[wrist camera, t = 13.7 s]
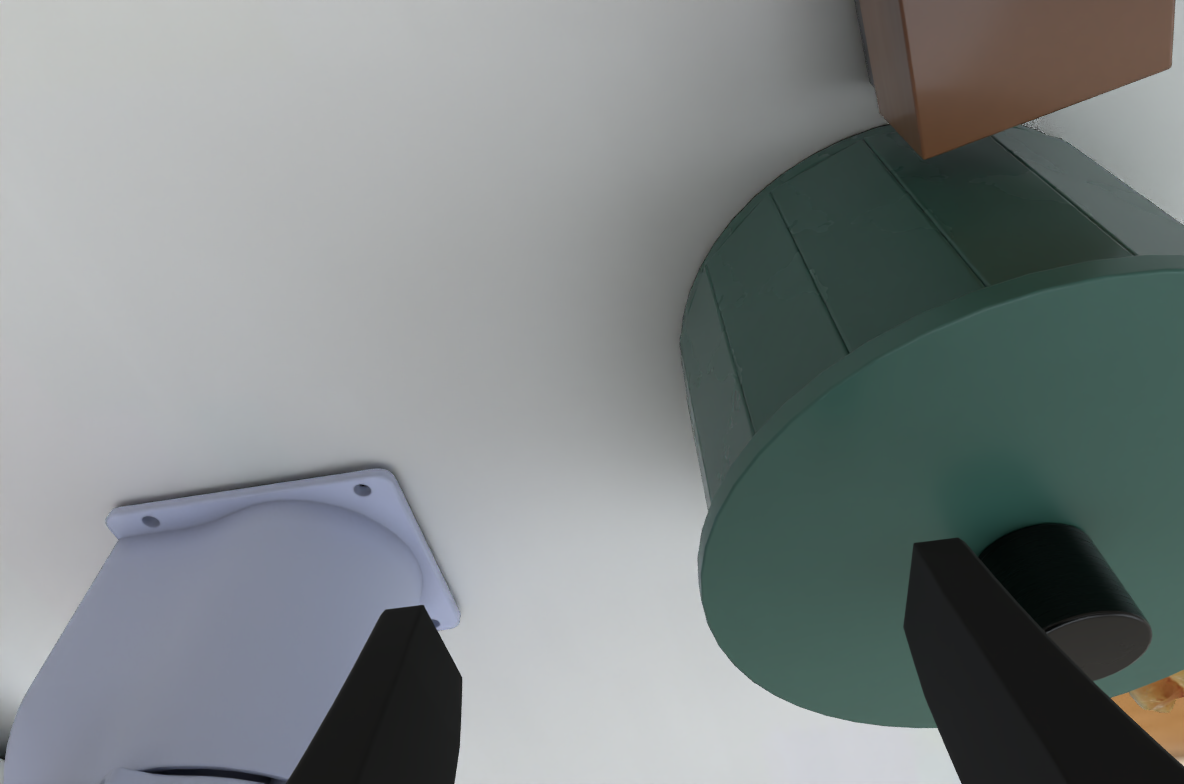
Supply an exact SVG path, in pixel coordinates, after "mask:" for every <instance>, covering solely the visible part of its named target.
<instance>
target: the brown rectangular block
mask: <svg viewBox="0 0 1184 784" xmlns="http://www.w3.org/2000/svg"><path fill="white" fill-rule="evenodd" d="M855 4H856V9H857V15H858V20H859V26H860V31H861V37H862V42H863V48H864V53H865V59H866V64H867V69H868V75H869V80H870V83H871V84H872V85H873V86H874V87H875V91H876V97H877V102H878V108H879V113H880V114H881V115H882V116H883V117H884V119H885V120H886V121H887V122H888V123H889V124H890V125H891V126H892V127H893V128H894V129H895V130H896V131H897V132H898V133H899V134H900V136H901V137H902V138H903V139H904V140H905V141H906V142H907V143H908V144H909V145H910V146H911V147H912V148H913V149H914V150H915V151H916V153H917V154H918V155H919V156H920V157H921V158H922V159H923V160H927V159H929V158H932V157H935V156H937V155H940V154H943V153H945V152H948V151H951V150H953V149H956V148H959V147H961V146H964V145H967V144H969V143H972V142H975V141H977V140H980V139H983V138H985V137H988V136H991V135H993V134H996V133H999V132H1001V131H1004V130H1007V129H1009V128H1012V127H1015V126H1017V125H1020V124H1023V123H1026V122H1028V121H1031V120H1034V119H1036V118H1039V117H1042V116H1044V115H1047V114H1050V113H1052V112H1055V111H1058V110H1060V109H1063V108H1066V107H1068V106H1071V105H1074V104H1076V103H1079V102H1082V101H1084V100H1087V99H1090V98H1092V97H1095V96H1098V95H1100V94H1103V93H1106V92H1108V91H1111V90H1114V89H1116V88H1119V87H1122V86H1124V85H1127V84H1130V83H1132V82H1135V81H1138V80H1140V79H1143V78H1146V77H1148V76H1151V75H1154V74H1157V73H1159V72H1162V71H1165V70H1167V69H1169V68H1171V66H1172V49H1173V31H1174V13H1175V0H855Z"/></svg>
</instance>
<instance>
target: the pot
mask: <svg viewBox="0 0 1184 784" xmlns="http://www.w3.org/2000/svg"><path fill="white" fill-rule="evenodd" d="M1138 255H1184V225H1183V224H1181V223H1180V222H1178V221H1177V220H1176V219H1174V218H1173V217H1171V216H1170V215H1169V214H1167V213H1166V212H1164V211H1163V210H1162V209H1160V208H1159V207H1157V206H1156V205H1155V204H1153V203H1152V202H1150V201H1149V200H1148V199H1146V198H1145V197H1143V196H1142V195H1141V194H1139V193H1138V192H1136V191H1135V190H1134V189H1132V188H1131V187H1129V186H1128V185H1127V184H1125V183H1124V182H1122V181H1121V180H1120V179H1118V178H1117V177H1115V176H1114V175H1113V174H1111V173H1110V172H1108V171H1107V170H1106V169H1104V168H1103V167H1101V166H1100V165H1099V164H1097V163H1096V162H1094V161H1093V160H1092V159H1090V158H1089V157H1087V156H1086V155H1085V154H1083V153H1082V152H1080V151H1079V150H1078V149H1076V148H1075V147H1073V146H1072V145H1071V144H1069V143H1068V142H1065V141H1064V140H1062V139H1061V138H1057V137H1052V136H1048V135H1045V134H1043V133H1041V132H1039V131H1038V130H1035V129H1032V128H1029V127H1026V126H1022V125H1017V126H1015V127H1012V128H1009V129H1007V130H1004V131H1001V132H999V133H996V134H993V135H991V136H988V137H985V138H983V139H980V140H977V141H975V142H972V143H969V144H967V145H964V146H961V147H959V148H956V149H953V150H951V151H948V152H945V153H943V154H940V155H937V156H935V157H932V158H929V159H927V160H923V159H922V158H921V157H920V156H919V155H918V154H917V153H916V151H915V150H914V149H913V148H912V147H911V146H910V145H909V144H908V143H907V142H906V141H905V140H904V139H903V138H902V137H901V136H900V134H899V133H898V132H897V131H896V130H895V129H894V128H893V127H892V126H891V125H886V126H882V127H878V128H874V129H871V130H869V131H866V132H863V133H861V134H858V135H855V136H853V137H850V138H847V139H844V140H842V141H840V142H838V143H836V144H834V145H832V146H830V147H828V148H826V149H824V150H822V151H820V152H818V153H816V154H814V155H812V156H810V157H808V158H807V159H805V160H804V161H802V162H801V163H799V164H798V165H796V166H794V167H793V168H791V169H790V170H788V171H787V172H785V173H784V174H782V175H781V176H779V177H778V178H777V179H776V180H775V181H773V182H772V183H771V184H770V185H769V186H767V187H766V188H765V189H764V190H762V191H761V192H760V193H759V194H758V195H756V196H755V197H754V198H753V199H752V200H751V201H750V202H749V203H748V204H747V205H746V206H745V207H744V208H743V210H742V211H741V212H740V213H739V214H738V215H737V216H736V217H735V218H734V219H733V220H732V221H731V223H730V224H729V225H728V226H727V228H726V229H725V230H724V232H723V233H722V234H721V236H720V237H719V238H718V240H717V241H716V242H715V243H714V245H713V247H712V249H711V250H710V252H709V254H708V255H707V257H706V259H705V261H704V262H703V264H702V266H701V267H700V269H699V272H698V274H697V276H696V279H695V281H694V284H693V286H692V288H691V291H690V293H689V297H688V301H687V304H686V308H685V312H684V316H683V323H682V332H681V336H680V350H681V359H682V367H683V372H684V379H685V387H686V394H687V401H688V407H689V413H690V418H691V423H692V429H693V434H694V439H695V445H696V450H697V455H698V461H699V466H700V471H701V476H702V482H703V487H704V492H705V498H706V503H707V508H708V511H709V508H710V505H711V503H712V500H713V498H714V496H715V494H716V492H717V490H718V488H719V486H720V485H721V483H722V481H723V479H724V477H725V475H726V474H727V472H728V470H729V468H730V467H731V465H732V464H733V463H734V461H735V460H736V458H737V457H738V456H739V454H740V453H741V452H742V450H743V449H744V448H745V446H746V445H747V444H748V442H749V441H750V440H751V438H752V437H753V436H754V435H755V433H756V432H757V431H758V430H759V429H760V428H761V427H762V426H763V425H764V424H765V423H766V422H767V421H768V420H769V419H770V418H771V417H772V416H773V415H774V414H775V413H776V412H777V411H778V409H779V408H780V407H781V406H782V405H783V404H784V403H785V402H787V401H788V400H789V399H790V398H791V397H793V396H794V395H795V394H796V393H797V392H799V391H800V390H801V389H802V388H803V387H805V386H806V385H807V384H808V383H809V382H811V381H812V380H813V379H814V378H815V377H817V376H818V375H819V374H820V373H821V372H823V371H824V370H826V369H827V368H829V367H830V366H832V365H833V364H835V363H836V362H838V361H839V360H841V359H842V358H844V357H845V356H847V355H848V354H850V353H851V352H853V351H854V350H856V349H857V348H858V347H860V346H861V345H863V344H864V343H866V342H868V341H869V340H871V339H873V338H875V337H877V336H879V335H881V334H882V333H884V332H886V331H888V330H890V329H892V328H894V327H895V326H897V325H899V324H901V323H903V322H905V321H907V320H908V319H910V318H912V317H914V316H916V315H918V314H920V313H923V312H925V311H927V310H930V309H932V308H935V307H937V306H939V305H942V304H944V303H946V302H949V301H951V300H953V299H956V298H958V297H960V296H963V295H965V294H968V293H970V292H973V291H976V290H979V289H982V288H985V287H988V286H992V285H995V284H998V283H1001V282H1004V281H1007V280H1010V279H1014V278H1017V277H1020V276H1023V275H1026V274H1030V273H1034V272H1039V271H1043V270H1048V269H1053V268H1057V267H1062V266H1067V265H1071V264H1076V263H1081V262H1085V261H1092V260H1101V259H1111V258H1120V257H1129V256H1138Z"/></svg>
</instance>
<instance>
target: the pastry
mask: <svg viewBox="0 0 1184 784" xmlns="http://www.w3.org/2000/svg"><path fill="white" fill-rule="evenodd" d="M1129 694H1130V695H1131V697H1132V698H1133V699H1134V700H1135V702H1136V703H1137V704H1138V705H1139V706H1140V707H1141V708H1143V709H1144V710H1153V711H1156V712H1161V713H1169V712H1170V711H1171V710H1172V709H1173V706H1174V704H1175V701H1176V699H1178V698H1181V697H1184V670H1182V671H1180V672H1177V673H1175V674H1173V675H1171V676H1169V677H1166V678H1164V679H1161V680H1159V681H1156V682H1153V683H1151V684H1148V685H1146V686H1143V687H1140V688H1138V689H1135V690H1133V691H1130V692H1129Z"/></svg>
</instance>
